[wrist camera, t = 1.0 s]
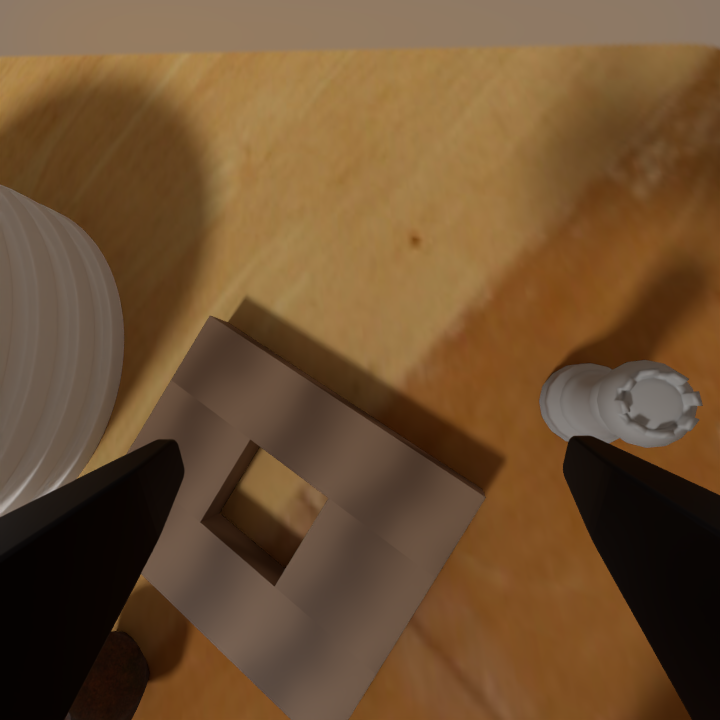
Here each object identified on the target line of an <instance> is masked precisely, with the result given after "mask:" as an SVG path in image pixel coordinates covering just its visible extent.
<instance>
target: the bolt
mask: <svg viewBox="0 0 720 720" xmlns="http://www.w3.org/2000/svg"><path fill="white" fill-rule="evenodd" d="M148 678H149V670H148V666H147V662H146V659H145V657H144V656H143V654H142V652H141V650H140V648H139V646H138V645H137V643H136V642H135V641H134V640H133V639H132V638H131V637H130V636H129V635H127V634H126V633H124V632H117V631H113V632H110V634H109V636H108V638H107V640H106V642H105V644H104V646H103V647H102V649H101V651H100V653H99V655H98V657H97V659H96V661H95V663H94V665H93V667H92V668H91V670H90V672H89V674H88V676H87V678H86V680H85V682H84V684H83V686H82V688H81V690H80V691H79V693H78V695H77V697H76V699H75V701H74V703H73V705H72V707H71V709H70V711H69V712H68V714H67V716H66V718H65V720H131V719H132V717H133V715H134V714H135V712H136V710H137V707H138V705H139V703H140V700H141V698H142V696H143V693H144V691H145V688H146V686H147V682H148Z"/></svg>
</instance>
